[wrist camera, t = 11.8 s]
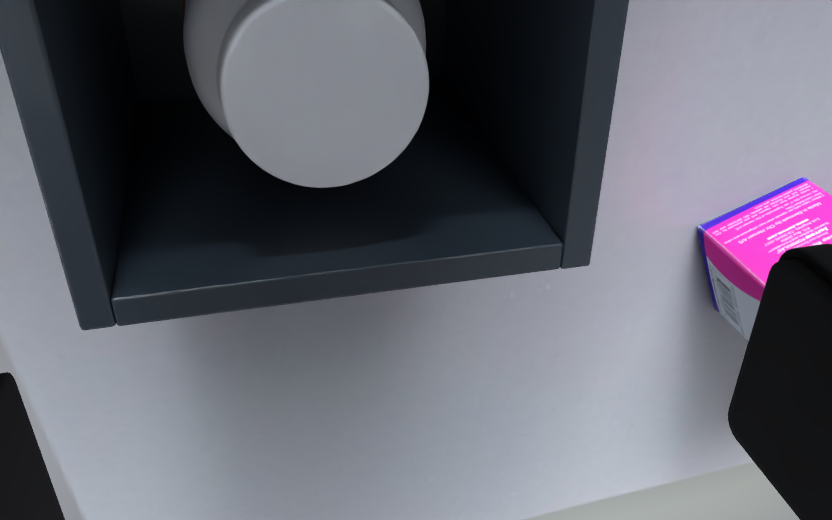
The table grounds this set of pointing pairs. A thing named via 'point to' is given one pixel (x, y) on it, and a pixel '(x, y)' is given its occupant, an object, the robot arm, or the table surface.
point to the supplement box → (760, 245)
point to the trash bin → (299, 205)
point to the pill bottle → (311, 81)
